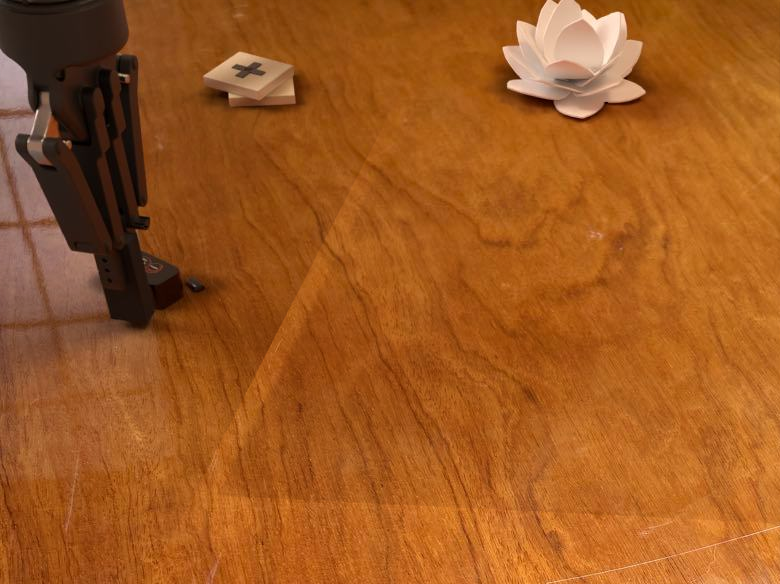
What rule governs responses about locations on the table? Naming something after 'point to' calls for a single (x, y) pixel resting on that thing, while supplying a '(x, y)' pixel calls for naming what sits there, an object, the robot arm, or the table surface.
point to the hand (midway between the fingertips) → (133, 315)
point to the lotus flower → (574, 59)
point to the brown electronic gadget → (166, 282)
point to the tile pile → (253, 81)
